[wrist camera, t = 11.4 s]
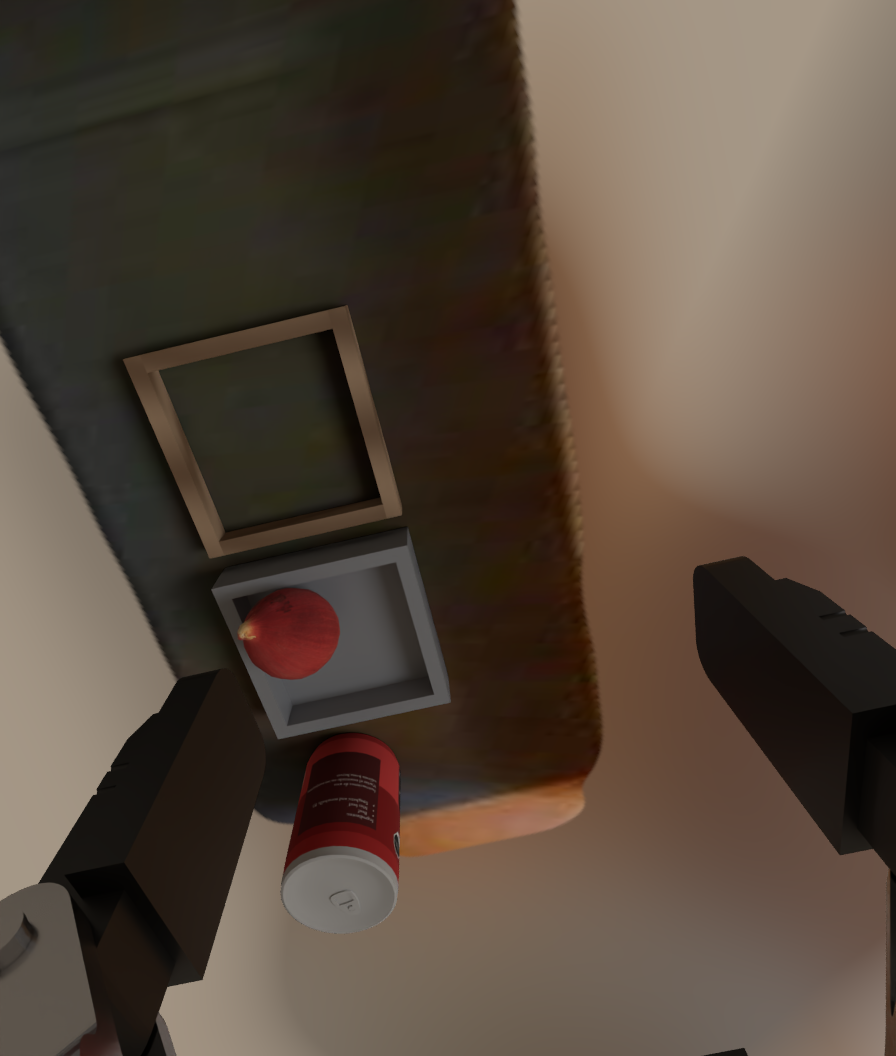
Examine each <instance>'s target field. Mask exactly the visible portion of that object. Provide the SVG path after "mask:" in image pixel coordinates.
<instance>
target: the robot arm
mask: <svg viewBox="0 0 896 1056" xmlns="http://www.w3.org/2000/svg"><path fill="white" fill-rule="evenodd" d="M693 588H694V608H695V627H696V644H697V650H698V654H699V658H700V661H701V664H702V666H703V668H704V670H705V673H706V674H707V676H708V678H709V679H710V681H711V682H712V684H713V685H714V686H715V688H716V689H717V690H718V692H719V693H720V695H721V696H722V697H723V699H724V700H725V701H726V702H727V704H728V705H729V707H730V708H731V709H732V711H733V712H734V713H735V715H736V716H737V717H738V719H739V720H740V721H741V723H742V724H743V725H744V726H745V728H746V730H747V731H748V732H749V733H750V735H751V736H752V738H753V739H754V740H755V742H756V743H757V744H758V746H759V747H760V748H761V750H762V751H763V752H764V754H765V755H766V756H767V758H768V759H769V761H770V762H771V763H772V765H773V766H774V767H775V769H776V770H777V771H778V773H779V774H780V775H781V777H782V778H783V779H784V781H785V782H786V783H787V784H788V786H789V787H790V789H791V790H792V791H793V793H794V794H795V796H796V797H797V798H798V799H799V801H800V802H801V804H802V805H803V806H804V808H805V809H806V810H807V812H808V813H809V814H810V816H811V817H812V818H813V820H814V821H815V822H816V824H817V825H818V827H819V828H820V829H821V830H822V832H823V833H824V834H825V836H826V837H827V839H828V840H829V841H830V843H831V844H832V845H833V846H834V848H835V849H836V851H837V852H838V853H839V855H844V854H849V853H854V852H859V851H864V850H869V849H874V850H875V851H876V853H877V854H878V855H879V856H880V857H881V859H882V860H883V861H884V862H885V864H886V865H887V866H888V875H887V882H886V1036H885V1038H886V1039H885V1056H896V649H894V648H893V647H892V646H891V645H889V644H888V643H887V642H885V641H884V640H883V639H882V638H880V637H879V636H878V635H876V634H875V633H874V632H868V631H867V627H866V626H865V625H863V624H862V623H861V622H859V621H858V620H857V619H855V618H854V617H853V616H851V615H846V613H845V610H844V609H842V608H841V607H840V606H838V605H837V604H836V603H834V602H833V601H832V600H831V599H829V598H828V597H827V596H825V595H824V594H823V593H821V592H820V591H818V590H815V589H812V588H810V587H808V586H805V585H802V584H800V583H797V582H795V581H792V580H790V579H787V578H784V579H779V580H774V579H773V578H772V577H770V576H769V575H768V574H767V573H766V572H764V571H763V570H762V569H761V568H760V567H759V566H757V565H756V564H755V563H754V562H752V561H751V560H750V559H749V558H747V557H743V556H741V557H736V558H731V559H727V560H722V561H718V562H713V563H709V564H704V565H700V566H697V567H696V568H695V570H694V574H693ZM265 766H266V751H265V744H264V740H263V737H262V734H261V732H260V730H259V727H258V725H257V723H256V721H255V719H254V716H253V714H252V712H251V710H250V708H249V706H248V703H247V701H246V699H245V697H244V695H243V693H242V690H241V688H240V686H239V684H238V682H237V680H236V678H235V676H234V674H233V673H232V672H231V671H230V670H228V669H226V668H224V669H219V670H214V671H210V672H205V673H201V674H196V675H192V676H187V677H183V678H181V679H179V680H178V681H177V683H176V684H175V686H174V687H173V689H172V691H171V693H170V694H169V696H168V698H167V699H166V701H165V703H164V705H163V706H162V708H161V710H160V711H159V713H156V714H153V715H152V716H151V717H150V718H149V719H148V720H147V721H146V722H145V723H144V724H143V725H142V726H141V727H140V728H139V729H138V730H137V731H135V733H133V734H132V735H131V736H130V737H129V738H128V739H127V741H126V743H125V744H124V746H123V747H122V749H121V750H120V752H119V754H118V756H117V757H116V759H115V760H114V762H113V763H112V765H111V771H109V772H107V773H106V775H105V777H104V778H103V780H102V781H101V783H100V785H99V786H98V788H97V795H93V796H92V797H91V799H90V801H89V802H88V804H87V806H86V807H85V809H84V811H83V812H82V814H81V815H80V817H79V818H78V820H77V822H76V823H75V825H74V827H73V828H72V830H71V831H70V833H69V835H68V836H67V838H66V840H65V841H64V843H63V844H62V846H61V848H60V849H59V851H58V852H57V854H56V856H55V857H54V859H53V861H52V862H51V864H50V865H49V867H48V869H47V870H46V872H45V874H44V875H43V877H42V878H41V880H40V882H39V883H38V884H36V885H33V886H30V887H27V888H24V889H22V890H20V891H18V892H16V893H14V894H11V895H10V896H8V897H6V898H5V899H3V900H1V901H0V1056H176V1053H175V1050H174V1047H173V1043H172V1041H171V1037H170V1034H169V1031H168V1028H167V1025H166V1023H165V1021H164V1019H163V1018H162V1016H161V1015H160V1014H159V1009H160V1007H161V1004H162V1001H163V998H164V995H165V992H166V989H167V987H169V986H174V985H179V984H184V983H189V982H194V981H199V980H203V976H204V973H205V970H206V966H207V963H208V960H209V956H210V953H211V950H212V946H213V943H214V940H215V936H216V932H217V929H218V926H219V923H220V919H221V916H222V913H223V909H224V906H225V903H226V899H227V896H228V893H229V889H230V886H231V883H232V879H233V876H234V873H235V869H236V866H237V863H238V859H239V856H240V852H241V849H242V846H243V843H244V839H245V836H246V833H247V829H248V826H249V822H250V819H251V816H252V812H253V809H254V806H255V802H256V799H257V796H258V792H259V789H260V786H261V782H262V779H263V776H264V772H265ZM704 1056H748V1055H747V1053H746V1051H745V1049H744V1048H741V1049H736V1050H731V1051H725V1052H720V1053H715V1054H709V1055H704Z"/></svg>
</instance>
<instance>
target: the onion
mask: <svg viewBox="0 0 896 1056" xmlns="http://www.w3.org/2000/svg"><path fill="white" fill-rule="evenodd" d="M237 635H238V640H243V644H244V648H245V650H246V652H247V654H248V656H249V658H250V660H251V661H252V663H253V664H254V665H255V666H256V667H258V668H259V669H261V670H262V671H264V672H265V673H267V674H268V675H270V676H271V677H275V678H279V679H288V680H296V679H303V678H305V677H307V676H310V675H312V674H314V673H316V672H317V671H318V670H320V669H321V668H322V667H323V666H324V665H325V664H326V663H327V662H328V661H329V660H330V659H331V657H332V655H333V653H334V651H335V650H336V648H337V645H338V640H339V636H340V626H339V619H338V617H337V615H336V613H335V611H334V609H333V607H332V606H331V605H330V603H329V602H328V601H327V600H326V599H324V598H323V597H322V596H320V595H319V594H318V593H316V592H313V591H311V590H309V589H300V588H284V589H280V590H277V591H275V592H273V593H271V594H269V595H267V596H266V597H264V598H262V599H260V600H259V601H258V602H257V603H256V604H255V605H254V606H253V607H252V609H251V610H250V612H249V613H248V615H247V616H246V619H245V621H244V623H243V624H241V625H240V626H239V629H238V632H237Z"/></svg>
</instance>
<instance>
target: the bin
mask: <svg viewBox="0 0 896 1056" xmlns="http://www.w3.org/2000/svg"><path fill="white" fill-rule="evenodd" d="M284 588H300V589H309V590H311V591H313V592H316V593H318V594H319V595H320V596H322V597H323V598H324V599H326V600H327V601H328V602H329V603H330V605H331V606H332V607H333V609H334V611H335V613H336V615H337V617H338V619H339V626H340V636H339V640H338V645H337V648H336V650H335V651H334V653H333V655H332V657H331V659H330V660H329V661H328V662H327V663H326V664H325V665H324V666H323V667H322V668H321V669H320V670H318V671H317V672H316V673H314V674H312V675H310V676H307V677H305V678H303V679H296V680H288V679H279V678H275V677H271V676H270V675H268V674H267V673H265V672H264V671H262V670H261V669H259V668H258V667H256V666H255V665H254V664H253V663H252V661H251V660H250V658H249V656H248V654H247V652H246V650H245V648H244V644H243V640H238V635H237V632H238V629H239V626H240V625H241V624H243V623H244V621H245V619H246V616H247V615H248V613H249V612H250V610H251V609H252V607H253V606H254V605H255V604H256V603H257V602H258V601H259V600H260V599H262V598H264V597H266V596H267V595H269V594H271V593H273V592H275V591H277V590H280V589H284ZM211 590H212V592H213V595H214V597H215V599H216V601H217V604H218V606H219V608H220V610H221V612H222V615H223V617H224V619H225V621H226V624H227V626H228V628H229V630H230V633H231V635H232V637H233V639H234V642H235V644H236V646H237V648H238V651H239V653H240V655H241V657H242V659H243V662H244V664H245V666H246V668H247V671H248V673H249V675H250V677H251V680H252V682H253V684H254V686H255V689H256V691H257V693H258V695H259V698H260V700H261V702H262V704H263V707H264V709H265V711H266V713H267V715H268V718H269V720H270V722H271V724H272V727H273V729H274V731H275V733H276V736H277V738H278V739H282V738H287V737H291V736H296V735H301V734H305V733H310V732H315V731H319V730H324V729H329V728H333V727H338V726H343V725H347V724H352V723H357V722H361V721H366V720H371V719H375V718H380V717H385V716H389V715H394V714H399V713H403V712H408V711H413V710H417V709H422V708H427V707H431V706H436V705H441V704H445V703H450V702H451V701H450V690H449V679H448V673H447V670H446V666H445V662H444V659H443V655H442V651H441V648H440V644H439V640H438V637H437V633H436V629H435V626H434V622H433V618H432V615H431V611H430V607H429V604H428V600H427V596H426V592H425V589H424V585H423V581H422V578H421V574H420V570H419V567H418V563H417V559H416V556H415V552H414V548H413V545H412V541H411V537H410V534H409V530H408V527H404V528H399V529H395V530H391V531H386V532H382V533H377V534H373V535H368V536H364V537H359V538H355V539H351V540H346V541H342V542H337V543H333V544H328V545H324V546H320V547H315V548H311V549H306V550H302V551H297V552H293V553H288V554H284V555H280V556H275V557H271V558H266V559H262V560H257V561H253V562H249V563H244V564H240V565H235V566H231V567H226V568H225V569H224V570H223V572H222V573H221V575H220V576H219V578H218V579H217V581H216V582H215V584H214V586H213V587H212V589H211Z"/></svg>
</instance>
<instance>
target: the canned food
mask: <svg viewBox="0 0 896 1056" xmlns="http://www.w3.org/2000/svg"><path fill="white" fill-rule="evenodd" d="M400 780H401V772H400V768H399V764H398V761H397V759H396V757H395V755H394V753H393V751H392V750H391V749H390V748H389V747H388V746H387V745H386V744H385V743H383V742H382V741H380V740H379V739H377V738H375V737H372V736H369V735H366V734H360V733H345V734H339V735H336V736H333V737H331V738H329V739H327V740H325V741H324V742H322V743H321V744H320V745H319V746H318V747H317V748H316V750H315V751H314V752H313V754H312V755H311V757H310V759H309V761H308V763H307V767H306V771H305V776H304V780H303V785H302V789H301V794H300V798H299V803H298V807H297V812H296V816H295V821H294V825H293V830H292V835H291V839H290V844H289V848H288V852H287V857H286V862H285V867H284V873H283V877H282V883H281V886H282V887H281V900H282V903H283V905H284V907H285V909H286V910H287V912H288V913H289V914H290V915H291V916H292V917H293V918H294V919H295V920H297V921H298V922H300V923H301V924H303V925H305V926H307V927H310V928H312V929H315V930H318V931H322V932H328V933H353V932H359V931H362V930H366V929H369V928H371V927H373V926H375V925H377V924H379V923H380V922H382V921H383V920H385V919H386V918H387V917H388V916H389V915H390V914H391V912H392V910H393V909H394V907H395V904H396V901H397V894H398V879H399V838H400Z"/></svg>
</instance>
